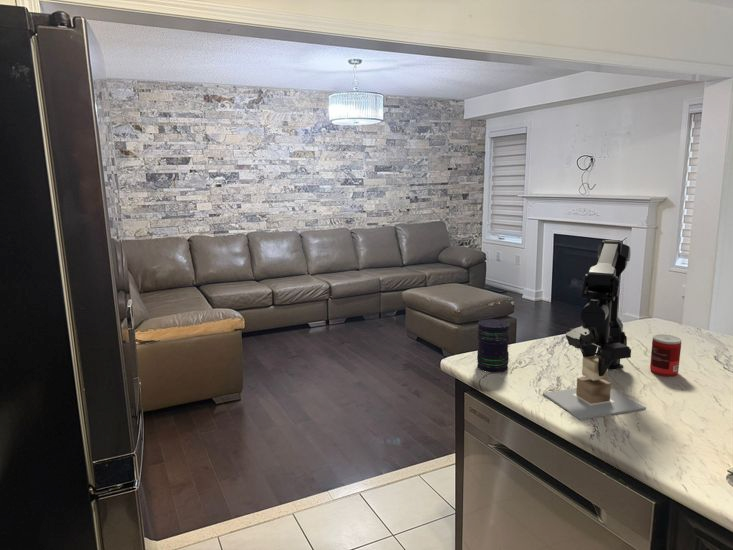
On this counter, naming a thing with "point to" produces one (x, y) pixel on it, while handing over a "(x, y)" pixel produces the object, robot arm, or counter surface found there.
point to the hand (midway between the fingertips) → (594, 372)
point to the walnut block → (593, 390)
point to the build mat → (588, 410)
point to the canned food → (665, 355)
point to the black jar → (493, 345)
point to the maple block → (592, 368)
